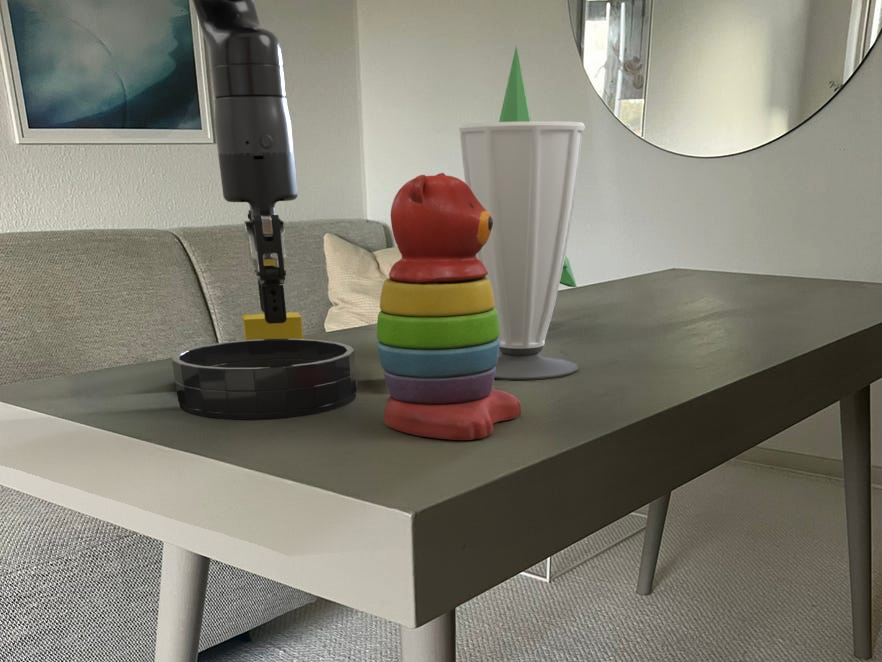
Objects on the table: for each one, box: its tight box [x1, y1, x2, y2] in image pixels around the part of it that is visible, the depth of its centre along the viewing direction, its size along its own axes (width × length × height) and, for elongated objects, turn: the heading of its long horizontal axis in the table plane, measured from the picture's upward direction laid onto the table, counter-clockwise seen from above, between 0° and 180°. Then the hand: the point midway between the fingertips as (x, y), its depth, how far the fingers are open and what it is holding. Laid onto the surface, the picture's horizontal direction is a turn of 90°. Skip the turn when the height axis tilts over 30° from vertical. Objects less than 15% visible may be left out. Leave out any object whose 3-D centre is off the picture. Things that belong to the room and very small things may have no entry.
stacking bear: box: [376, 172, 522, 441], centre depth 74 cm, size 11×10×18 cm
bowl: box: [171, 338, 357, 420], centre depth 86 cm, size 15×15×4 cm
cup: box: [459, 120, 586, 381], centre depth 93 cm, size 12×12×22 cm
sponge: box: [242, 311, 304, 340], centre depth 107 cm, size 6×4×4 cm, turn 104°
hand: (273, 317), depth 106 cm, fingers open, 8 cm apart
